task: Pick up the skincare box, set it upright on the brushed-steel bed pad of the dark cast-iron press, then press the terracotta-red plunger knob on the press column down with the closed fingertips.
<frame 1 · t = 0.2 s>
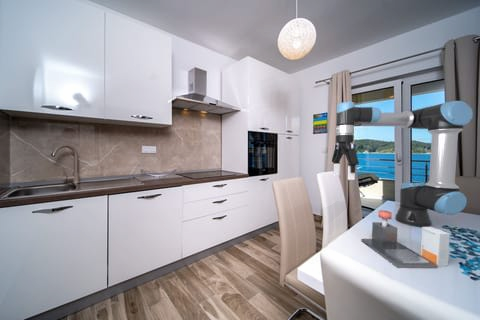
hand: (343, 177, 91), 28 cm above the table, fingers open, 13 cm apart
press: (394, 252, 73), on the table
plunger: (384, 223, 79), point 10 cm above the table, slide at 0.0 cm
skincare box: (433, 261, 68), on the table
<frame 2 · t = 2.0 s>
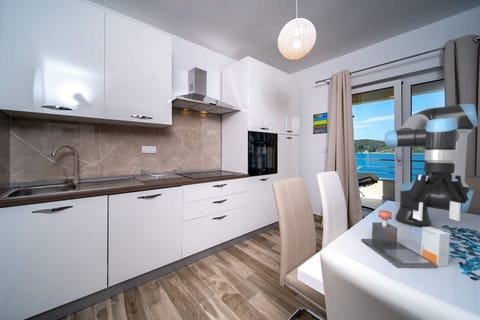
hand: (435, 219, 67), 16 cm above the table, fingers open, 13 cm apart
nothing on the table moved.
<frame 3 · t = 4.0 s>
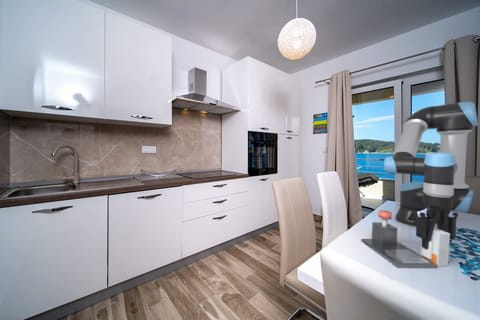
hand: (433, 256, 68), 2 cm above the table, fingers closed on skincare box, 4 cm apart
skincare box: (433, 261, 68), on the table, touching gripper
everything else where it was.
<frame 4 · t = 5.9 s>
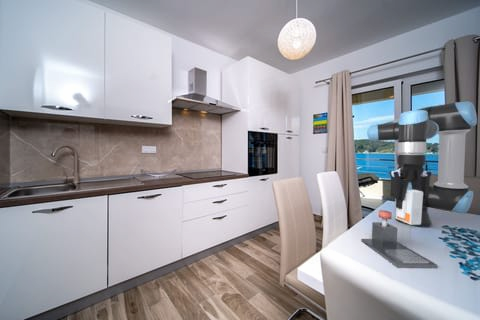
hand: (408, 217, 68), 17 cm above the table, fingers closed on skincare box, 4 cm apart
skincare box: (407, 222, 68), point 15 cm above the table, touching gripper
everything else where it was.
when the fingers open (5 cm above the table, at t = 8.2 s): skincare box stays where it is, resting on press.
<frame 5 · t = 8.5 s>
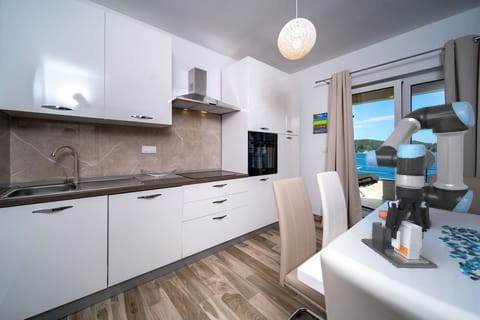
hand: (406, 247, 68), 5 cm above the table, fingers open, 7 cm apart
skincare box: (405, 255, 68), point 2 cm above the table, touching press
everything else where it was.
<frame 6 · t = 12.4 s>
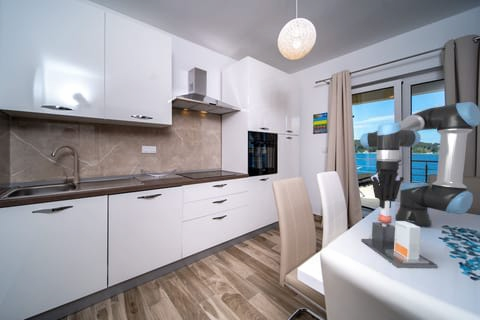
hand: (384, 215, 78), 13 cm above the table, fingers closed
plunger: (384, 227, 79), point 8 cm above the table, slide at 1.7 cm, touching gripper
everything else where it was.
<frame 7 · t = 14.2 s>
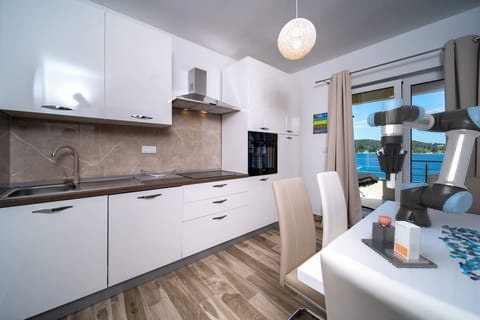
hand: (390, 187, 83), 24 cm above the table, fingers closed
plunger: (384, 229, 79), point 7 cm above the table, slide at 2.4 cm
everything else where it was.
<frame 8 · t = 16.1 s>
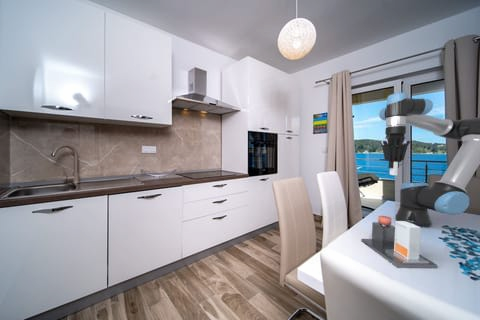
hand: (393, 174, 90), 29 cm above the table, fingers closed
nothing on the table moved.
at the end: skincare box inside the target area on the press (0.0 cm from its centre), point 1.8 cm above the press's base; skincare box tilted 0°; plunger slide at 2.4 cm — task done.
